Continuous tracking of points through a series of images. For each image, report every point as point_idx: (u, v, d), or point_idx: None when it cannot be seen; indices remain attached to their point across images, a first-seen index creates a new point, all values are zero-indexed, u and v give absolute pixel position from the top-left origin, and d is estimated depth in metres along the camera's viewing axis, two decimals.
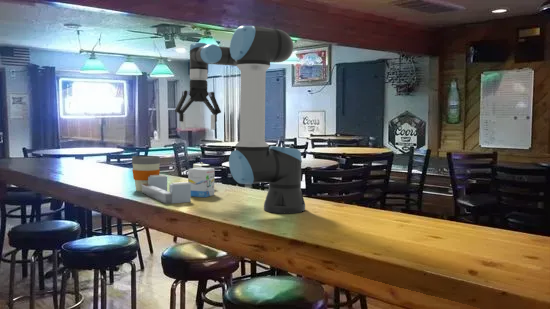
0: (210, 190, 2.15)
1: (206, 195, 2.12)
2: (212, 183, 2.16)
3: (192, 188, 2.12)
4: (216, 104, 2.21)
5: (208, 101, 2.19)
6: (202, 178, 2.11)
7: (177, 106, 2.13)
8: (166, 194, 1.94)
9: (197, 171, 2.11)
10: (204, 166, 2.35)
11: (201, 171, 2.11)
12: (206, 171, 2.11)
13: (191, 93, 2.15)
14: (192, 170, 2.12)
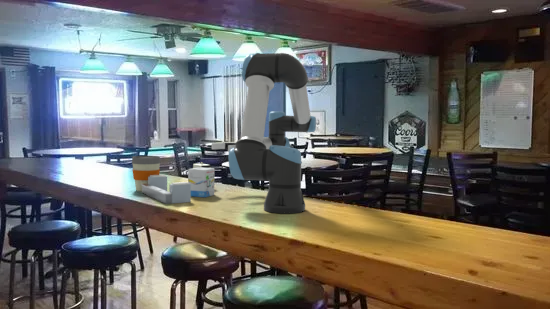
0: (210, 190, 2.15)
1: (206, 195, 2.12)
2: (212, 183, 2.16)
3: (192, 188, 2.12)
4: None
5: None
6: (202, 178, 2.11)
7: (227, 146, 2.33)
8: (166, 194, 1.94)
9: (197, 171, 2.11)
10: (204, 166, 2.35)
11: (201, 171, 2.11)
12: (206, 171, 2.11)
13: None
14: (192, 170, 2.12)
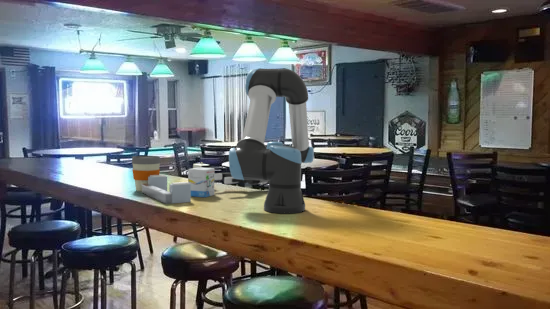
0: (210, 190, 2.15)
1: (206, 195, 2.12)
2: (212, 183, 2.16)
3: (192, 188, 2.12)
4: None
5: None
6: (202, 178, 2.11)
7: None
8: (166, 194, 1.94)
9: (197, 171, 2.11)
10: (204, 166, 2.35)
11: (201, 171, 2.11)
12: (206, 171, 2.11)
13: None
14: (192, 170, 2.12)
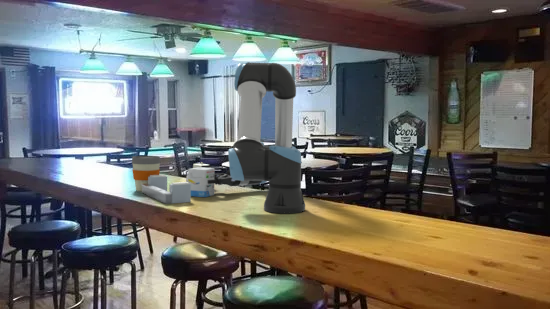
0: (210, 190, 2.15)
1: (206, 195, 2.12)
2: None
3: (192, 188, 2.12)
4: (225, 178, 2.14)
5: (223, 176, 2.17)
6: (202, 178, 2.11)
7: None
8: (166, 194, 1.94)
9: (197, 171, 2.11)
10: (204, 166, 2.35)
11: (201, 171, 2.11)
12: (206, 171, 2.11)
13: None
14: (192, 170, 2.12)
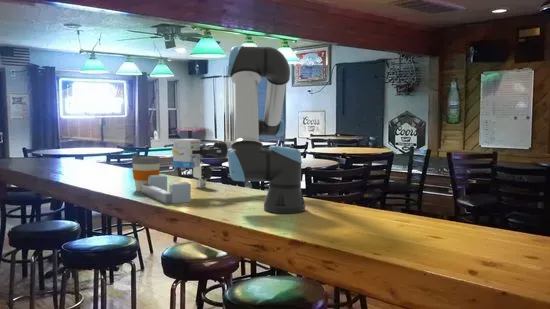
0: (195, 161, 2.12)
1: (191, 166, 2.09)
2: None
3: (177, 159, 2.10)
4: (210, 148, 2.11)
5: (209, 148, 2.15)
6: (187, 148, 2.08)
7: None
8: (166, 194, 1.94)
9: (182, 141, 2.09)
10: (204, 166, 2.35)
11: (186, 141, 2.08)
12: (191, 141, 2.09)
13: None
14: (177, 140, 2.10)
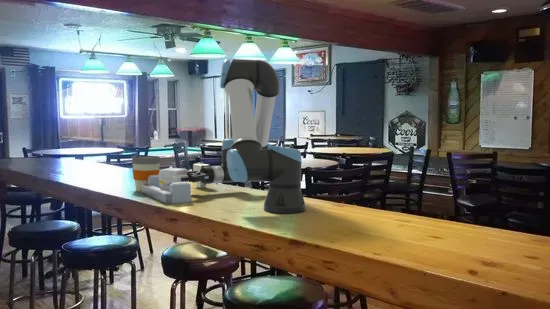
0: None
1: None
2: None
3: (163, 189, 2.08)
4: (198, 175, 2.09)
5: (196, 174, 2.13)
6: None
7: None
8: (166, 194, 1.94)
9: (168, 172, 2.07)
10: (204, 166, 2.35)
11: (172, 172, 2.06)
12: (178, 172, 2.07)
13: None
14: (163, 171, 2.08)
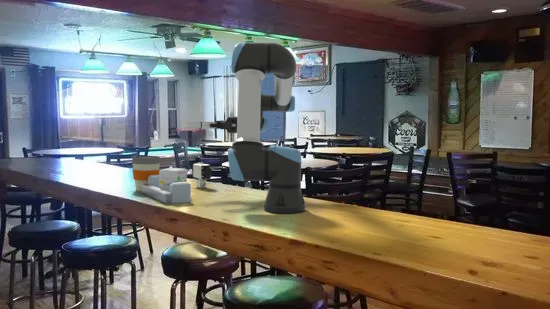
0: None
1: None
2: None
3: (163, 189, 2.08)
4: (226, 122, 2.15)
5: (224, 122, 2.19)
6: (173, 179, 2.06)
7: None
8: (166, 194, 1.94)
9: (168, 172, 2.07)
10: (204, 166, 2.35)
11: (172, 172, 2.06)
12: (178, 172, 2.07)
13: None
14: (163, 171, 2.08)
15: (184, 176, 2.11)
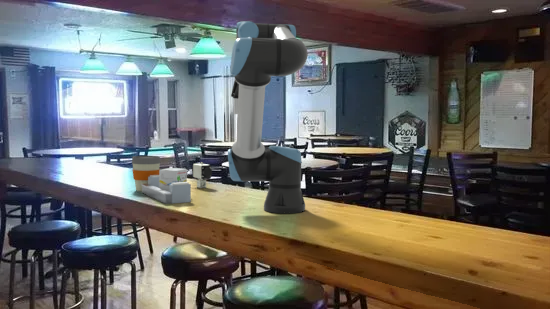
0: None
1: None
2: None
3: (163, 189, 2.08)
4: None
5: None
6: (173, 179, 2.06)
7: None
8: (166, 194, 1.94)
9: (168, 172, 2.07)
10: (204, 166, 2.35)
11: (172, 172, 2.06)
12: (178, 172, 2.07)
13: None
14: (163, 171, 2.08)
15: (184, 176, 2.11)
